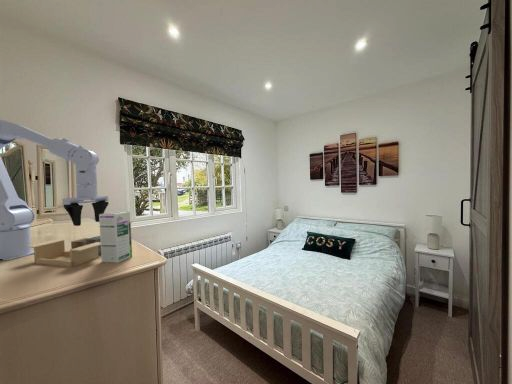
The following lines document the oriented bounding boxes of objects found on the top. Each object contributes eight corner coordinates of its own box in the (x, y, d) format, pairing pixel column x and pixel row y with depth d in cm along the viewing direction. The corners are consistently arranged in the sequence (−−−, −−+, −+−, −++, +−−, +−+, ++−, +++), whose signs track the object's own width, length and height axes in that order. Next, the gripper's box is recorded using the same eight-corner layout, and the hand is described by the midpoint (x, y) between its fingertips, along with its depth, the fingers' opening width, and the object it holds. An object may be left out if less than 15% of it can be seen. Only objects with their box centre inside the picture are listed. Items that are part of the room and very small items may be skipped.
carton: (27, 262, 64) (26, 246, 64) (56, 254, 72) (55, 239, 72) (80, 268, 60) (80, 250, 59) (106, 258, 67) (105, 242, 67)
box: (71, 254, 71) (71, 238, 71) (85, 250, 76) (84, 235, 76) (96, 256, 69) (95, 239, 69) (108, 252, 74) (108, 236, 73)
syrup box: (117, 263, 63) (115, 213, 62) (100, 262, 64) (98, 213, 64) (132, 257, 68) (131, 211, 68) (116, 256, 70) (115, 210, 69)
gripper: (73, 184, 67) (75, 228, 68) (114, 184, 82) (115, 220, 82) (56, 184, 69) (58, 227, 70) (99, 184, 83) (100, 219, 84)
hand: (88, 223), depth 76 cm, fingers open, 7 cm apart
